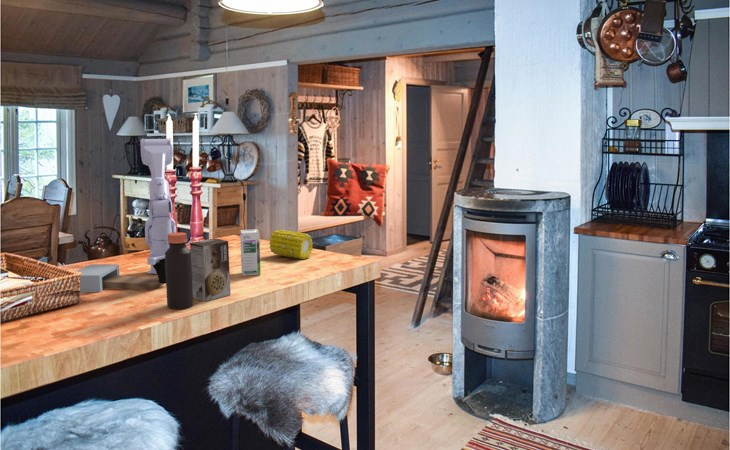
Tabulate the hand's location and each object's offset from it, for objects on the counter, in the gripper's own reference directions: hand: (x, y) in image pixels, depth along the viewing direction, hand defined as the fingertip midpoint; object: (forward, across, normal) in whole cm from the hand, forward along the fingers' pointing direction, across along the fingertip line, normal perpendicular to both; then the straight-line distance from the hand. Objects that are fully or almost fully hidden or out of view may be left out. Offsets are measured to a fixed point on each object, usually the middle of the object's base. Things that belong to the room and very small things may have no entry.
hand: (164, 283), depth 198 cm
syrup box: (+1, -21, +20) cm, 29 cm away
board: (+2, +2, -9) cm, 10 cm away
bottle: (+1, +19, +15) cm, 24 cm away
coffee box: (+1, +8, +19) cm, 20 cm away
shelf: (+1, +4, -21) cm, 21 cm away
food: (+1, -48, +25) cm, 54 cm away
